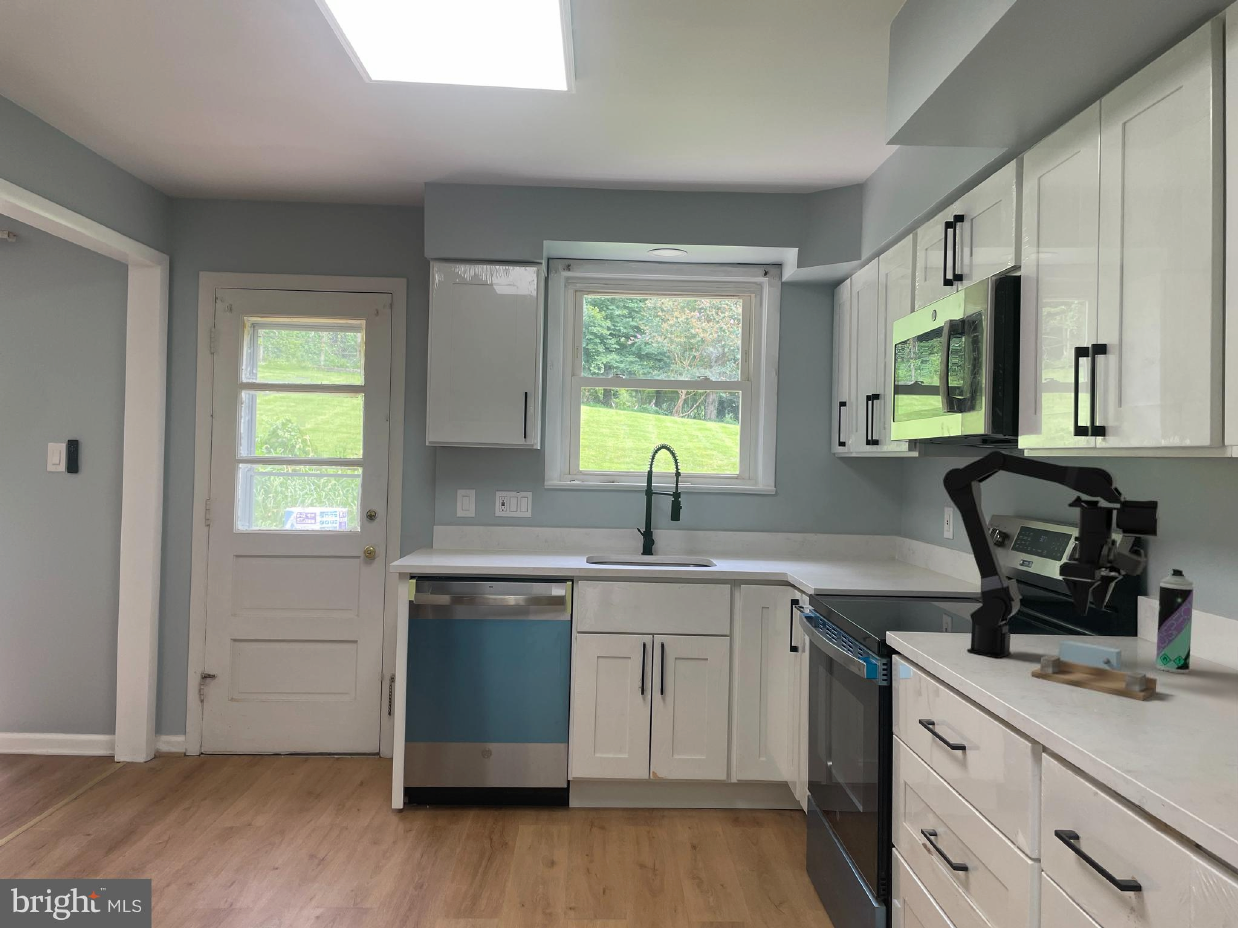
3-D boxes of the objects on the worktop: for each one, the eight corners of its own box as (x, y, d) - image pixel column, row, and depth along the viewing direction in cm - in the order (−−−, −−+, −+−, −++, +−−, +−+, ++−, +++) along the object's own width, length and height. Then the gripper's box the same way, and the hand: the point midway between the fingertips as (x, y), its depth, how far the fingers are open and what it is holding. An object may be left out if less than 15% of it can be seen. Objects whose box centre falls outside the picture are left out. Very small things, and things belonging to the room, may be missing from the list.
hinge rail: (1031, 676, 152) (1032, 657, 152) (1047, 670, 157) (1048, 651, 157) (1142, 700, 139) (1143, 679, 139) (1155, 692, 144) (1156, 672, 144)
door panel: (1056, 667, 161) (1057, 642, 161) (1063, 664, 163) (1065, 639, 163) (1113, 679, 153) (1114, 652, 153) (1120, 676, 156) (1121, 649, 156)
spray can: (1149, 666, 164) (1154, 567, 163) (1169, 665, 165) (1174, 567, 165) (1175, 674, 158) (1180, 571, 158) (1195, 672, 160) (1201, 571, 160)
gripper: (1126, 538, 146) (1122, 625, 146) (1157, 534, 159) (1153, 614, 159) (1060, 532, 154) (1056, 614, 154) (1094, 529, 167) (1090, 605, 167)
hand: (1091, 612), depth 158 cm, fingers open, 9 cm apart
